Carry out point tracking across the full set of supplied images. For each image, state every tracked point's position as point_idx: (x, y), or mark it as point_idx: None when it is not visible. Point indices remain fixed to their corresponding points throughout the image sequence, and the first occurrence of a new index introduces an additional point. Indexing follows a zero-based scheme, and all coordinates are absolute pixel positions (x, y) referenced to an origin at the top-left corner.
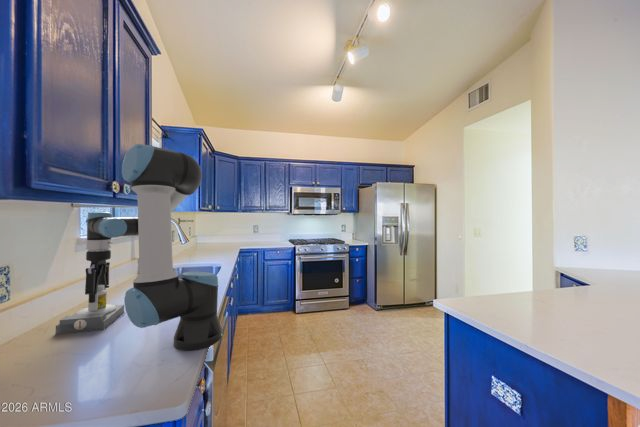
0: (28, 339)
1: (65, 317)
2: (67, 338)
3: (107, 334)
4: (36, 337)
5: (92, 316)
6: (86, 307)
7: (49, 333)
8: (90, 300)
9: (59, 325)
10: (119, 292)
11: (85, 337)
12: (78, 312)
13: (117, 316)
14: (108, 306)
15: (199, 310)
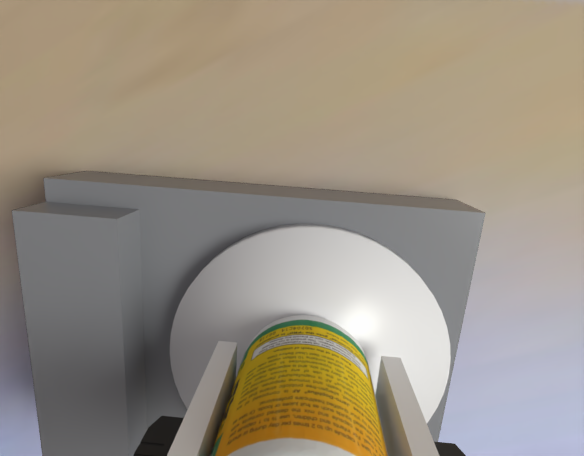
0: (29, 36)
1: (72, 228)
2: (8, 271)
3: (30, 442)
4: (54, 72)
5: (60, 415)
6: (480, 229)
7: (109, 124)
8: (141, 452)
9: (48, 201)
10: None
11: (8, 356)
12: (274, 244)
13: None
14: None
15: None
